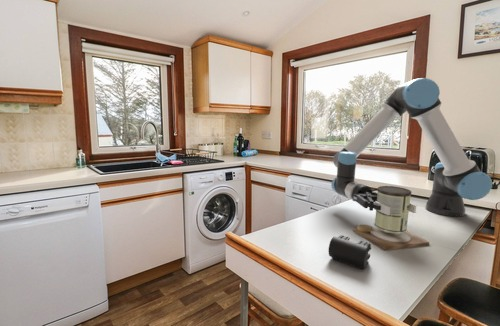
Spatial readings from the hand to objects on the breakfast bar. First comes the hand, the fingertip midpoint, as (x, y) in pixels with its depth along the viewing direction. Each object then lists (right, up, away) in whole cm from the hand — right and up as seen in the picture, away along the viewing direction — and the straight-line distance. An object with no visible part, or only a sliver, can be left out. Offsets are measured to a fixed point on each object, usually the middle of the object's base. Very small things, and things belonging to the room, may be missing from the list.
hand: (402, 210), depth 91 cm
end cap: (-22, -13, -12) cm, 29 cm away
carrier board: (-1, -11, +6) cm, 12 cm away
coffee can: (-1, -7, +5) cm, 9 cm away
